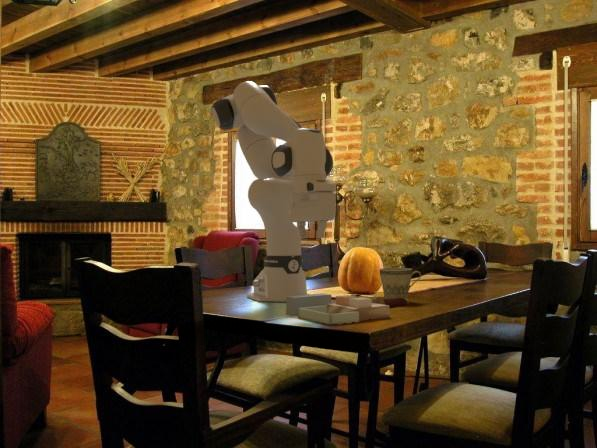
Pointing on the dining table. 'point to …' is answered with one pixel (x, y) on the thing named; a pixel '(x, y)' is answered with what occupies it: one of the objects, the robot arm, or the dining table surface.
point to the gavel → (385, 300)
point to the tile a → (344, 299)
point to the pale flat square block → (361, 311)
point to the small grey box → (306, 302)
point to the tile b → (360, 302)
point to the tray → (326, 315)
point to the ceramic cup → (396, 282)
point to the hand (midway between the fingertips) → (311, 238)
